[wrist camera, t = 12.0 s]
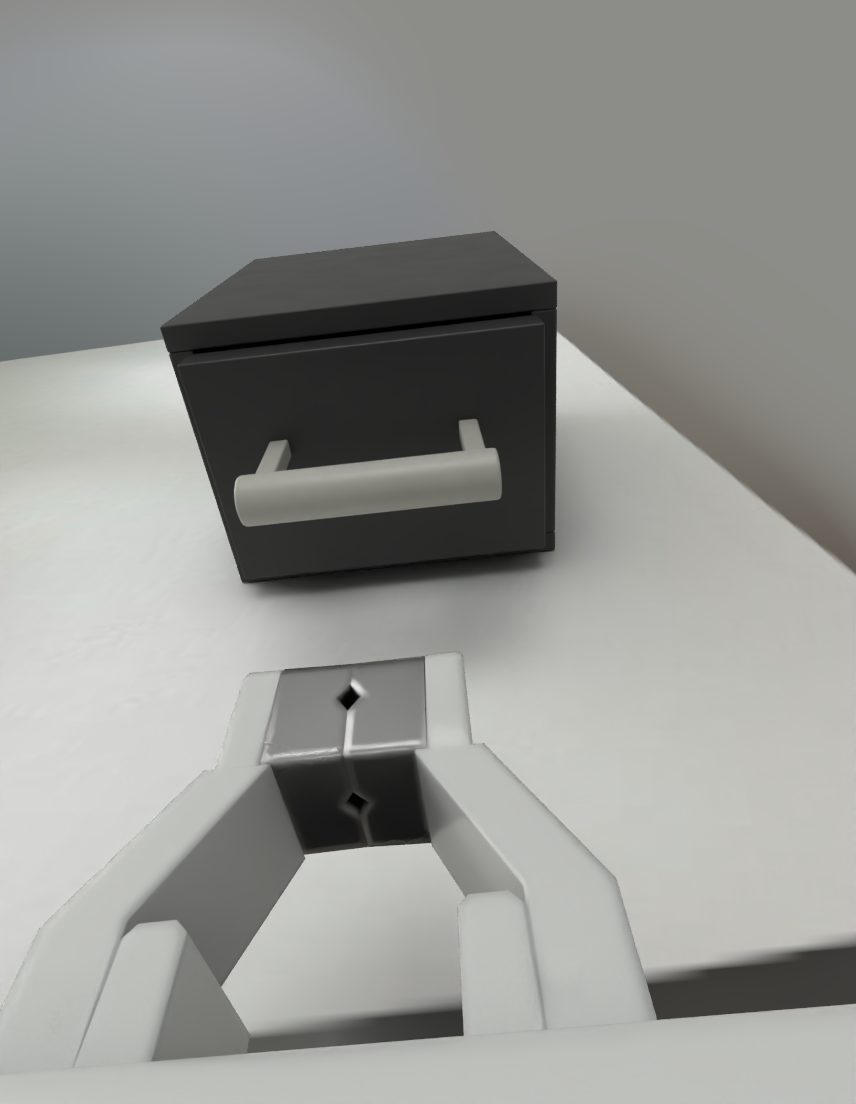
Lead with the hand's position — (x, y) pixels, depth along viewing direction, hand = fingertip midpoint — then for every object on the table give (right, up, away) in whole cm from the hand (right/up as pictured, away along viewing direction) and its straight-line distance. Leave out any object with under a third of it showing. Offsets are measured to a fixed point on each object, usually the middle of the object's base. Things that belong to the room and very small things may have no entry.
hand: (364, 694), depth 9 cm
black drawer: (-1, +4, +18) cm, 18 cm away
